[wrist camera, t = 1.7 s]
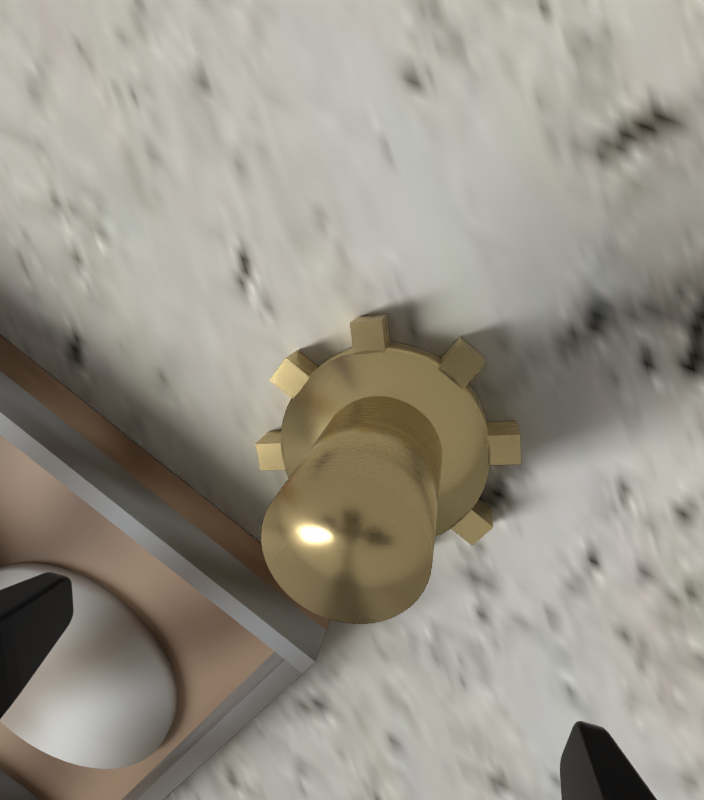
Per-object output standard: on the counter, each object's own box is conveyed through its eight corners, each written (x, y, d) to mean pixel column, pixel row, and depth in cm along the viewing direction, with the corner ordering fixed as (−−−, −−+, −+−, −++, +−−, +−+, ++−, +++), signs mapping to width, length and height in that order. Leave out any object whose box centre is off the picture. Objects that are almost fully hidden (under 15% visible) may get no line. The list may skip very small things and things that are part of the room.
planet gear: (575, 433, 16) (646, 557, 10) (402, 588, 19) (373, 755, 13) (365, 258, 16) (302, 272, 10) (225, 445, 19) (110, 547, 13)
